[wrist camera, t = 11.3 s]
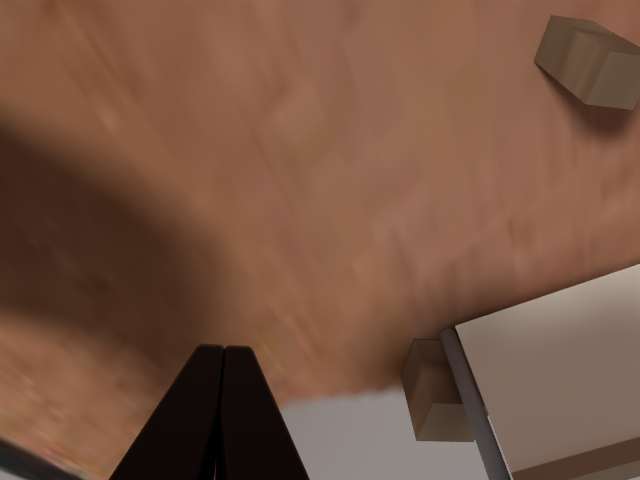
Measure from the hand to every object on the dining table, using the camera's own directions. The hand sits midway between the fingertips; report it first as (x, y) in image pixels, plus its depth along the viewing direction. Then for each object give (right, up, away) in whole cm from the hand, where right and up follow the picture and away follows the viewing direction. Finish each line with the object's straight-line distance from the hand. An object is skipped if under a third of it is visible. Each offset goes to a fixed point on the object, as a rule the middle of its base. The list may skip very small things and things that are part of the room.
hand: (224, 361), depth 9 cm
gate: (+14, -1, +18) cm, 23 cm away
